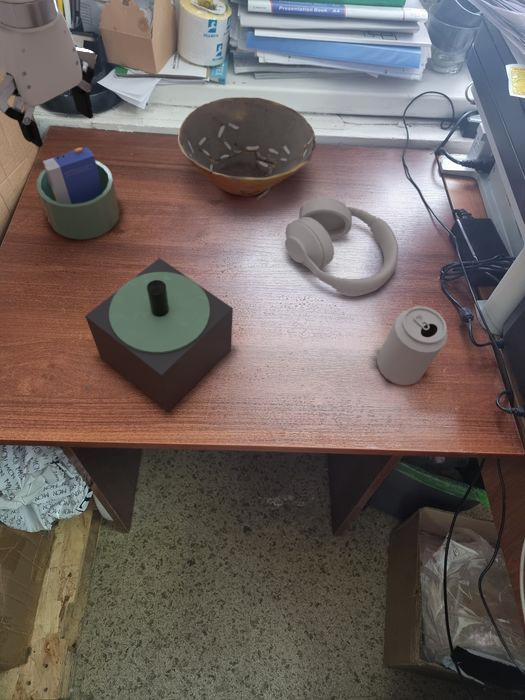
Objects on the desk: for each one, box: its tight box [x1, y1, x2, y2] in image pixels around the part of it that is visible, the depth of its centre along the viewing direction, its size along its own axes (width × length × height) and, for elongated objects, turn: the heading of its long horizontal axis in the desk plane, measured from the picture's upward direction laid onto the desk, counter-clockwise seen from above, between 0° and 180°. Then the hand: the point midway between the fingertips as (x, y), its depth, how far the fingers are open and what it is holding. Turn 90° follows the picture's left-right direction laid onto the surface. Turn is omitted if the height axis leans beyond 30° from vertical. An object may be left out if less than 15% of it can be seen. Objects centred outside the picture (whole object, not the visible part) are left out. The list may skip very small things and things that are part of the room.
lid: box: [109, 272, 210, 354], centre depth 66 cm, size 13×13×5 cm
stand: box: [84, 257, 234, 413], centre depth 73 cm, size 14×14×11 cm
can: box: [376, 305, 448, 386], centre depth 75 cm, size 8×8×12 cm
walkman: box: [42, 146, 103, 204], centre depth 87 cm, size 8×3×12 cm, turn 125°
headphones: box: [284, 196, 399, 297], centre depth 89 cm, size 18×8×20 cm
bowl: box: [177, 96, 317, 197], centre depth 97 cm, size 25×25×10 cm
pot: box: [36, 160, 120, 240], centre depth 89 cm, size 12×12×8 cm
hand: (60, 128), depth 78 cm, fingers open, 9 cm apart
